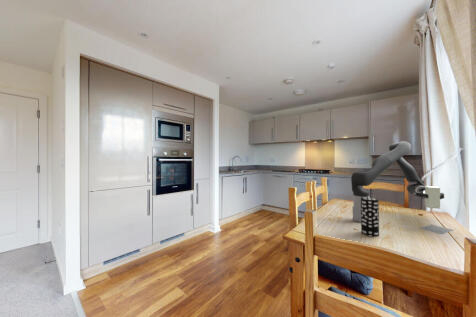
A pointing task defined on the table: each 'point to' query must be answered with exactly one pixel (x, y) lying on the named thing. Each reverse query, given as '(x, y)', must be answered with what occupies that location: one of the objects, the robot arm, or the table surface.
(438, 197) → the sage block
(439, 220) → the table surface
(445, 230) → the mat
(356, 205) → the robot arm
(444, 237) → the table surface
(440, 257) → the table surface
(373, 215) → the spotted tube
